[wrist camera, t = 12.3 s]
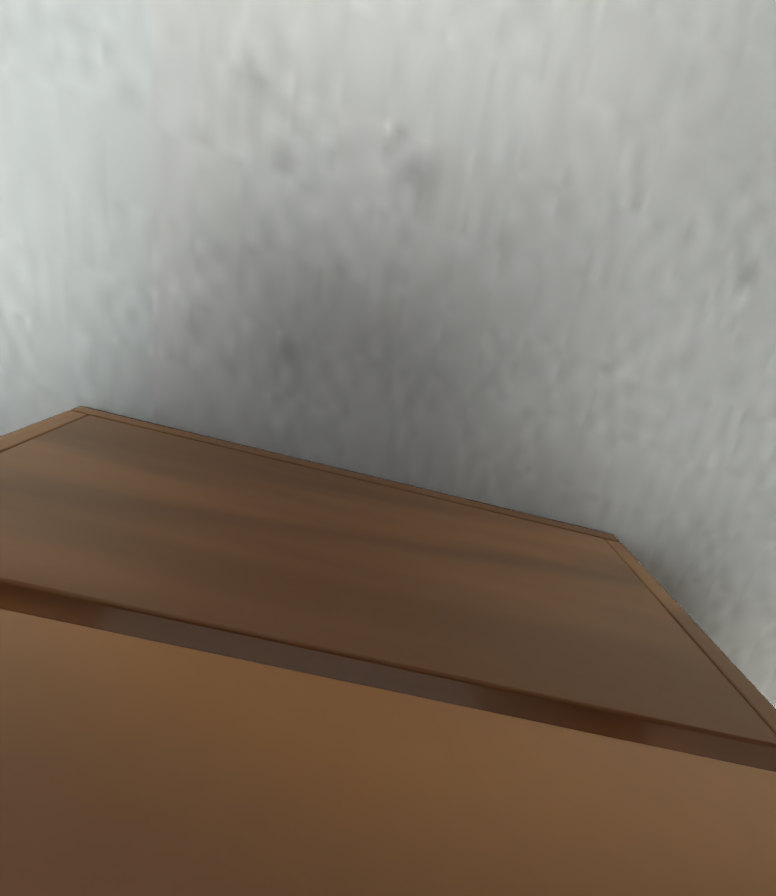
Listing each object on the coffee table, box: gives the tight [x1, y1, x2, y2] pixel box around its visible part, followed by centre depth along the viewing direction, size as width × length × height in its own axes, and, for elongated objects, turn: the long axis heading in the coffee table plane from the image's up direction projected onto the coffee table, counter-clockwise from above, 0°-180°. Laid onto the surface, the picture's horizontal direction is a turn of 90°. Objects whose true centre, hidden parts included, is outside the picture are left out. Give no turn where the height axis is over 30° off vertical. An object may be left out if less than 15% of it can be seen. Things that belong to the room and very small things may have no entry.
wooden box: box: [0, 406, 776, 772], centre depth 10 cm, size 11×12×7 cm
